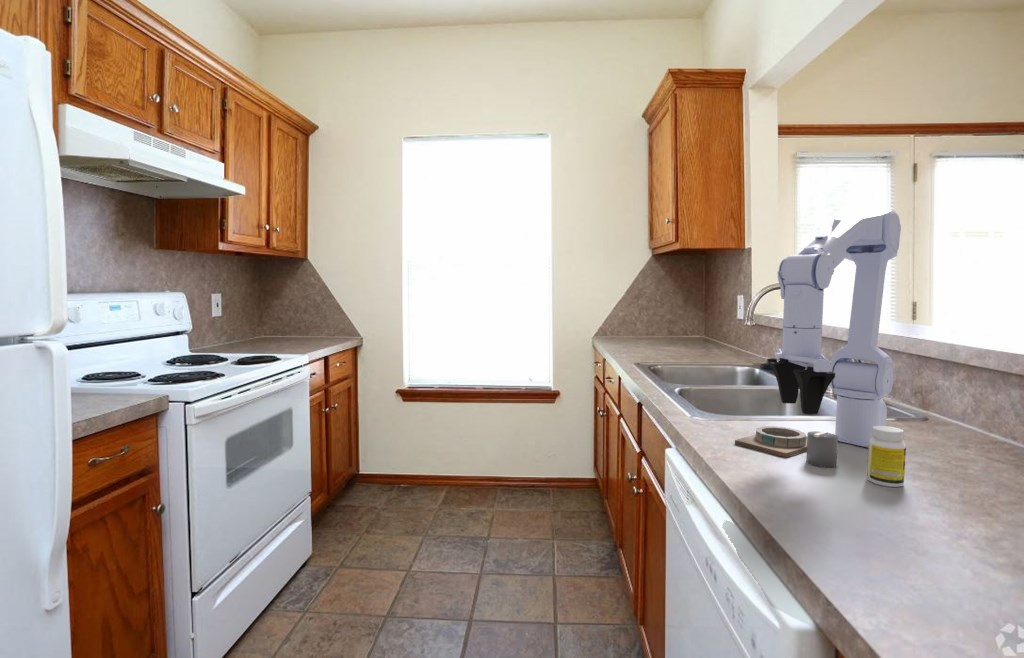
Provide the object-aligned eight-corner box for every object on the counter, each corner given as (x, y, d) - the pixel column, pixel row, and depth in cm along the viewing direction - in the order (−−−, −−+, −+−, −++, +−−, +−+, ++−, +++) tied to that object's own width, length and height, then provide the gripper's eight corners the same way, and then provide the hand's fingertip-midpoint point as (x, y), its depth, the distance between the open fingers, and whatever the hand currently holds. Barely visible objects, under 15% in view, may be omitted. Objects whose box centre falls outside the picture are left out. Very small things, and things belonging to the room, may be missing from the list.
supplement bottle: (910, 489, 81) (913, 433, 80) (875, 486, 82) (878, 431, 81) (894, 477, 85) (897, 425, 85) (861, 475, 86) (864, 424, 86)
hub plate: (774, 433, 111) (775, 421, 111) (825, 444, 103) (826, 432, 103) (734, 444, 103) (735, 431, 103) (786, 457, 95) (786, 444, 95)
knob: (814, 457, 95) (815, 427, 95) (841, 464, 92) (843, 433, 91) (801, 462, 93) (802, 431, 92) (828, 469, 89) (830, 437, 89)
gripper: (760, 324, 97) (757, 398, 98) (797, 331, 82) (794, 418, 83) (800, 324, 96) (797, 399, 97) (845, 331, 82) (841, 419, 83)
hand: (798, 408), depth 90 cm, fingers open, 7 cm apart
